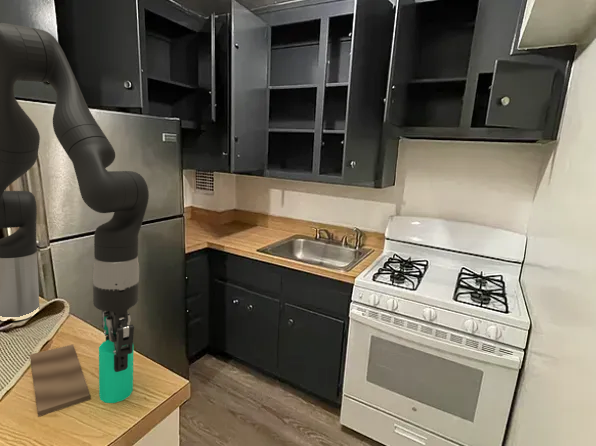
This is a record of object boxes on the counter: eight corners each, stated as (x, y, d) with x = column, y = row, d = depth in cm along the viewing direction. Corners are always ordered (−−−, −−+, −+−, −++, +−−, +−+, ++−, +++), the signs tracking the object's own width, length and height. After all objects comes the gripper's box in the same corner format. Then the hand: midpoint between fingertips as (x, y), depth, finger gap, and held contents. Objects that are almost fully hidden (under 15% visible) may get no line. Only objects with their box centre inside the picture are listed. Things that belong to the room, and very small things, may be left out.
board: (30, 358, 75) (29, 354, 75) (73, 348, 80) (73, 344, 80) (38, 416, 61) (37, 411, 60) (90, 399, 66) (90, 394, 66)
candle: (119, 406, 65) (119, 349, 63) (91, 399, 66) (90, 342, 63) (139, 386, 71) (140, 333, 68) (113, 379, 72) (113, 327, 69)
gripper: (85, 269, 66) (87, 348, 70) (102, 298, 56) (102, 389, 59) (127, 264, 71) (127, 338, 75) (150, 290, 61) (148, 374, 64)
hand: (116, 360), depth 67 cm, fingers closed on candle, 6 cm apart
